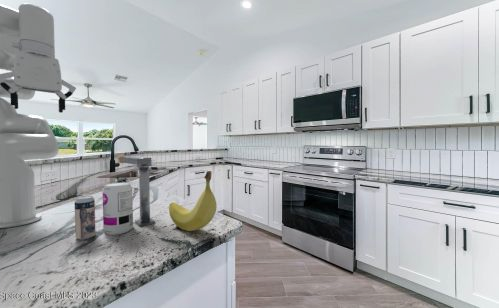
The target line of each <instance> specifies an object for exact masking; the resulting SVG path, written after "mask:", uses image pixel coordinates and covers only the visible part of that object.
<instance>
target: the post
mask: <svg viewBox="0 0 499 308" xmlns="http://www.w3.org/2000/svg"><path fill="white" fill-rule="evenodd" d="M138 175H139V177H138V182H139V184H138V185H139V186H138V187H139V189H138V191H139V219H137V220H134V223H135V225H137V226H138V227H144V226H148V225H152V224H153V225H154V224H156V220H154V219H153V218H151V204H150V203H151V199H150V196H151V193H150V192H151V190H150V187H151V186H150V166H146V167H138Z"/></svg>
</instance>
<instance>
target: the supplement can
mask: <svg viewBox="0 0 499 308" xmlns="http://www.w3.org/2000/svg"><path fill="white" fill-rule="evenodd" d="M133 199H134V198H133V187H132V185H131V183H130V182H124V181H123V182H112V183H107V184H106V183H105V184H104V187H103V189H102V220H103V221H102V223H103V225H102V226H103V232H104V233H105V234H106V235H108V236H109V235H111V236H112V235H113V236H114V235H121V234H125V233H128V232H129V231H131V230H132V229H133V228H134V210H133V209H134V208H133V207H134V205H133V203H134V202H133Z"/></svg>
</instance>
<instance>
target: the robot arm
mask: <svg viewBox="0 0 499 308" xmlns="http://www.w3.org/2000/svg"><path fill="white" fill-rule="evenodd" d="M0 70H2V71H7V72H3V73H0V229H7V228H12V227H13V228H14V227H19V226H24V225H28V224H32V223H35V222H38V221H40V220H41V219H43V218H42V217H43V216H42V214H41V213H37V210H36V187H35V186H36V184H35V181H36V180H35V173H34V172H35V171H34V170H33V168H32V167H31V166H30V165H28V164H27V163H25V161H30V160H31V161H32V160H47V159H53V158H54V157H56V156H58V153H59V150H60V148H59V143H58V141H57V138H56V136H55V134H54V132H53V130H52V128H51V126H50V124H49V122H48V121H47V119H45V118H44V117H42V116H40V115H39V116H38V115H33V114H24V113H23V114H22V113H18V112H17V109H19V100H23V101H25V100H27V101H28V100H31V99H32V98H33V99H34V96H35V94H36V92H43V93H51V94H55V95H56V96H57V97H58V98H59V99H58V113H63V112H64V111H65V110H66V99H68V98H70V97H71V96H72V95H73V94H74V92H75V91H76V89H77V88H76V86H74V85H72V84H71V83H69V82H67V81H65V80H64V79H62V72H61V66H60V61H59V59H57V58H56V50H55V19H54V16H53V14H52V13H51V12H50V11H49V10H48V9H46V8H43V7H41V6H39V5H36V4H33V3H21V4H19V6H18V10H16V9H14V8H11V7H9V6H6V5H3V4H0ZM63 87H66V88H67V89H68V91H67V92H66V93H63V92H62V88H63ZM4 98H8V99H10V102H9V101H8V100H6V99H4Z"/></svg>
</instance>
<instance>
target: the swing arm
mask: <svg viewBox="0 0 499 308" xmlns="http://www.w3.org/2000/svg"><path fill="white" fill-rule="evenodd" d="M152 161H153V159H152V157H134V156H127V154H126V155H124V154H121V155H120V154H118V155H117V163H118V164H129V165H135V167H138V168H139V167H152V165H153V163H152Z"/></svg>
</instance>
